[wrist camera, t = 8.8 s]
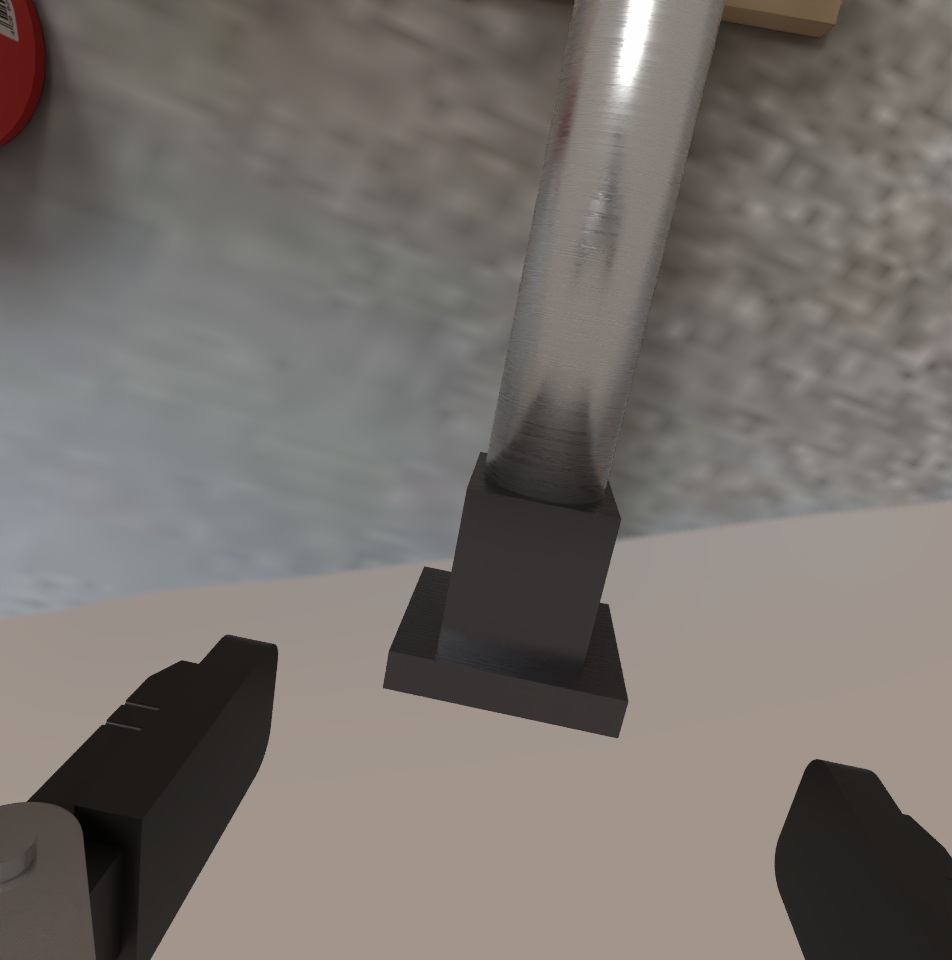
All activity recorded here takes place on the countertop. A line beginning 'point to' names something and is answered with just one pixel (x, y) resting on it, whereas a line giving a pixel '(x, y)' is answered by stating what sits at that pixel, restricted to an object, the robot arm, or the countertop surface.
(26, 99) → the canned food
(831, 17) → the block
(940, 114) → the countertop surface
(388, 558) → the countertop surface
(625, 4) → the shaft
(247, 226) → the countertop surface
